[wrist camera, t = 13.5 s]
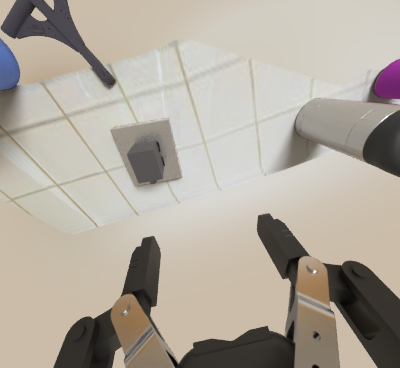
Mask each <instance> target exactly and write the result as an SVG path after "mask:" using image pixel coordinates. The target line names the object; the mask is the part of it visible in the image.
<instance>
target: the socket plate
mask: <svg viewBox="0 0 400 368" xmlns="http://www.w3.org/2000/svg"><path fill="white" fill-rule="evenodd" d="M111 133H112V135H113V137H114V140H115V142H116V144H117V146H118V149H119V151H120V153H121V155H122V158H123V160H124V162H125V165H126V167H127V169H128V171H129V174H130V176H131V178H132V181H133V183H134V185H135V186H140V185H145V184H150V182H145V183H138V181H137V178H136V176H135V174H134V171H133V169H132V166H131V164H130V161H129V159H128V157H127V153H128V152H129V150H130V149H131V147H132V146H133V145H134V144H138V143H144V142H149V141H155V140H157V142H158V143H159V146H160V148H159V150H160V154H161V157H163V160H164V161H163V164H164V172H163V179H161V180H157V182H161V181H166V180H172V179H177V178H182V171H181V167H180V163H179V158H178V154H177V150H176V145H175V141H174V137H173V132H172V128H171V124H170V119H169V117H168V118H162V119H156V120H150V121H145V122H139V123H133V124H127V125H122V126H116V127H114V128H112V129H111Z"/></svg>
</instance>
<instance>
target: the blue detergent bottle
mask: <svg viewBox="0 0 400 368" xmlns="http://www.w3.org/2000/svg"><path fill="white" fill-rule="evenodd" d="M19 78H20V69H19V65H18V62H17V60H16V58H15V56H14V55H13V53H12V51H11V50H10V49H9V47H8V46H7V45H6V44H5V43H4V42H3V41H2V40H1V39H0V90H7V89H11V88H13V87H14V86H16V85H17V83H18V82H19Z"/></svg>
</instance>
